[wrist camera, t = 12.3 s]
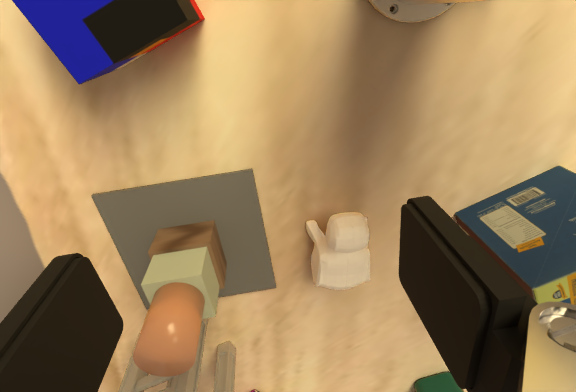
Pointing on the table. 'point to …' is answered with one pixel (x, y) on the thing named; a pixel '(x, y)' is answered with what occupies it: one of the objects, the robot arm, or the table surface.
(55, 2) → the puzzle toy
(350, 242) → the cream shape with stub
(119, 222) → the rubber mat
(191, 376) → the stool
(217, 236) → the tower base
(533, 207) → the protein box
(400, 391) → the table surface
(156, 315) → the peach egg shape
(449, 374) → the pitcher
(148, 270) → the tower top
